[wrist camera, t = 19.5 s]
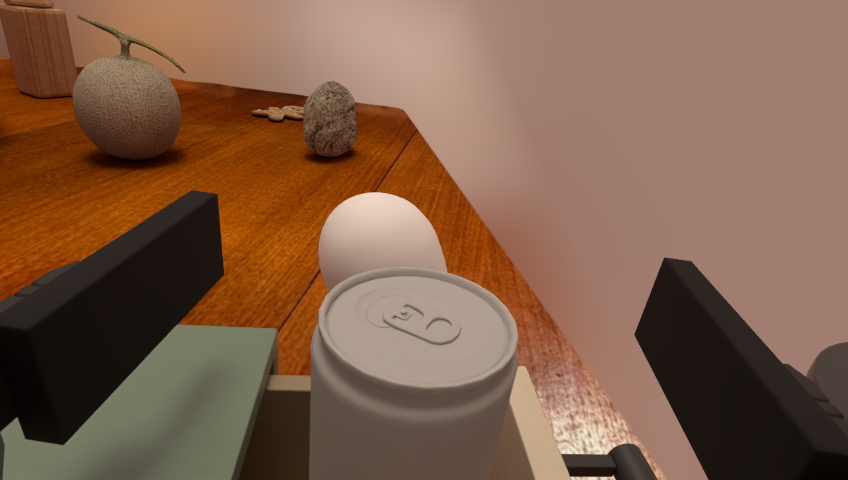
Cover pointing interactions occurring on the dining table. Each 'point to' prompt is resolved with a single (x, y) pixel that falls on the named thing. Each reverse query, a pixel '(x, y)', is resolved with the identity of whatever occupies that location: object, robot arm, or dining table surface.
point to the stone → (329, 120)
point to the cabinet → (165, 414)
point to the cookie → (281, 113)
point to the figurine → (376, 238)
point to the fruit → (127, 103)
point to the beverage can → (409, 377)
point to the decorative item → (39, 47)
